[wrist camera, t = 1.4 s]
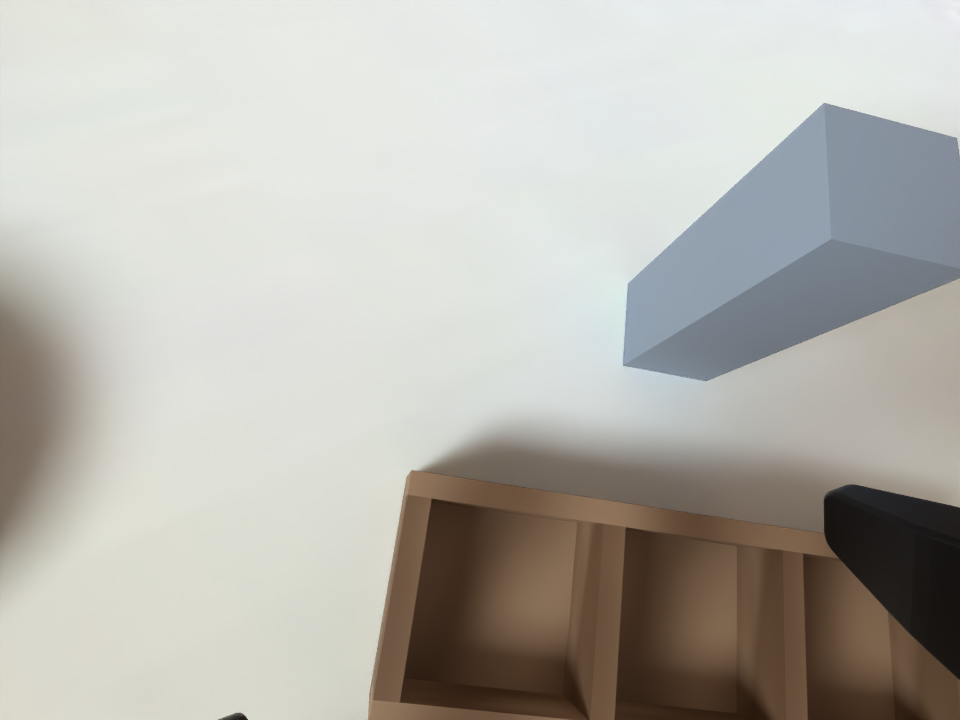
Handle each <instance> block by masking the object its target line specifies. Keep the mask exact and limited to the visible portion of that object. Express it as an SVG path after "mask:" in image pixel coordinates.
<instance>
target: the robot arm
mask: <svg viewBox="0 0 960 720" xmlns="http://www.w3.org/2000/svg"><path fill="white" fill-rule="evenodd" d="M824 535H825V539H826V541H827V544H828V545H829V547H830V549H831V550H832V551H833V552H834V554H835V555H836V556H837V557H838V558H839V559H840V560H841V561H842V562H843V563H844V564H845V565H846V567H847V568H848V569H849V570H850V571H851V572H852V573H853V574H854V575H855V576H856V577H857V578H858V580H859V581H860V582H861V583H862V584H863V585H864V586H865V587H866V588H867V589H868V590H869V591H870V592H871V594H872V595H873V596H874V597H875V598H876V599H877V600H878V601H879V602H880V603H881V604H882V605H883V607H884V608H885V609H886V610H887V611H888V612H889V613H890V614H891V615H892V616H893V617H894V618H895V620H896V621H897V622H898V623H899V624H900V625H901V626H902V627H903V628H904V629H905V630H906V631H907V632H908V633H909V634H910V635H911V636H912V637H913V638H914V639H915V640H916V641H917V642H918V643H919V644H920V645H921V646H922V647H924V648H925V649H926V650H927V651H928V652H929V653H930V654H931V655H932V656H933V657H934V658H935V659H936V660H938V661H939V662H940V663H941V664H942V665H943V666H944V667H945V668H946V669H947V670H948V671H950V672H951V673H952V674H953V675H954V676H955V677H956V678H957V679H958V680H959V681H960V507H955V506H951V505H946V504H941V503H937V502H932V501H927V500H923V499H918V498H914V497H909V496H904V495H900V494H895V493H891V492H886V491H881V490H877V489H872V488H868V487H863V486H858V485H845V486H842V487H840V488H837V489H834V490H832V491H829V492H828V493H826V495H825V497H824ZM219 720H248V719H247V718H246V716H245V715H244V714H242V713H235V714H232V715H229V716H227V717H224V718H221V719H219Z"/></svg>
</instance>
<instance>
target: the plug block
mask: <svg viewBox="0 0 960 720" xmlns="http://www.w3.org/2000/svg"><path fill="white" fill-rule="evenodd" d="M959 278H960V157H959V149H958V142H957V138H955V137H951V136H947V135H943V134H940V133H936V132H932V131H928V130H924V129H921V128H917V127H913V126H909V125H906V124H902V123H898V122H894V121H891V120H887V119H883V118H879V117H875V116H872V115H868V114H864V113H860V112H857V111H853V110H849V109H845V108H841V107H838V106H834V105H830V104H826V103H824V104H823V105H821V106H820V107H819V108H818V109H817V110H816V111H815V112H814V113H813V114H812V115H811V116H810V117H808V118H807V119H806V120H805V121H804V122H803V123H802V124H801V125H800V126H799V127H798V128H796V129H795V130H794V131H793V132H792V133H791V134H790V135H789V136H788V137H787V138H786V139H785V140H783V141H782V142H781V143H780V144H779V145H778V146H777V147H776V148H775V149H774V150H773V151H772V152H770V153H769V154H768V155H767V156H766V157H765V158H764V159H763V160H762V161H761V162H760V163H758V164H757V165H756V166H755V167H754V168H753V169H752V170H751V171H750V172H749V173H748V174H747V175H745V176H744V177H743V178H742V179H741V180H740V181H739V182H738V183H737V184H736V185H735V186H734V187H732V188H731V189H730V190H729V191H728V192H727V193H726V194H725V195H724V196H723V197H722V198H720V199H719V200H718V201H717V202H716V203H715V204H714V205H713V206H712V207H711V208H710V209H709V210H707V211H706V212H705V213H704V214H703V215H702V216H701V217H700V218H699V219H698V220H697V221H696V222H694V223H693V224H692V225H691V226H690V227H689V228H688V229H687V230H686V231H685V232H684V233H683V234H681V235H680V236H679V237H678V238H677V239H676V240H675V241H674V242H673V243H672V244H671V245H669V246H668V247H667V248H666V249H665V250H664V251H663V252H662V253H661V254H660V255H659V256H658V257H656V258H655V259H654V260H653V261H652V262H651V263H650V264H649V265H648V266H647V267H646V268H645V269H643V270H642V271H641V272H640V273H639V274H638V275H637V276H636V277H635V278H634V279H633V280H631V281H630V282H629V283H628V294H627V310H626V325H625V341H624V356H623V366H629V367H634V368H639V369H645V370H650V371H655V372H661V373H666V374H671V375H677V376H682V377H687V378H693V379H698V380H703V381H707V380H710V379H712V378H715V377H717V376H720V375H722V374H724V373H727V372H729V371H732V370H734V369H737V368H739V367H742V366H744V365H747V364H749V363H752V362H754V361H757V360H759V359H761V358H764V357H766V356H769V355H771V354H774V353H776V352H779V351H781V350H784V349H786V348H789V347H791V346H794V345H796V344H798V343H801V342H803V341H806V340H808V339H811V338H813V337H816V336H818V335H821V334H823V333H826V332H828V331H830V330H833V329H835V328H838V327H840V326H843V325H845V324H848V323H850V322H853V321H855V320H858V319H860V318H863V317H865V316H867V315H870V314H872V313H875V312H877V311H880V310H882V309H885V308H887V307H890V306H892V305H895V304H897V303H900V302H902V301H904V300H907V299H909V298H912V297H914V296H917V295H919V294H922V293H924V292H927V291H929V290H932V289H934V288H936V287H939V286H941V285H944V284H946V283H949V282H951V281H954V280H956V279H959Z"/></svg>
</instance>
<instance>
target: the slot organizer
mask: <svg viewBox="0 0 960 720" xmlns="http://www.w3.org/2000/svg"><path fill="white" fill-rule="evenodd" d="M368 720H960V681H959V680H958V679H957V678H956V677H955V676H954V675H953V674H952V673H951V672H950V671H948V670H947V669H946V668H945V667H944V666H943V665H942V664H941V663H940V662H939V661H938V660H936V659H935V658H934V657H933V656H932V655H931V654H930V653H929V652H928V651H927V650H926V649H925V648H924V647H922V646H921V645H920V644H919V643H918V642H917V641H916V640H915V639H914V638H913V637H912V636H911V635H910V634H909V633H908V632H907V631H906V630H905V629H904V628H903V627H902V626H901V625H900V624H899V623H898V622H897V621H896V620H895V618H894V617H893V616H892V615H891V614H890V613H889V612H888V611H887V610H886V609H885V608H884V607H883V605H882V604H881V603H880V602H879V601H878V600H877V599H876V598H875V597H874V596H873V595H872V594H871V592H870V591H869V590H868V589H867V588H866V587H865V586H864V585H863V584H862V583H861V582H860V581H859V580H858V578H857V577H856V576H855V575H854V574H853V573H852V572H851V571H850V570H849V569H848V568H847V567H846V565H845V564H844V563H843V562H842V561H841V560H840V559H839V558H838V557H837V556H836V555H835V554H834V552H833V551H832V550H831V549H830V547H829V545H828V544H827V541H826V539H825V535H824V534H823V533H817V532H810V531H804V530H797V529H791V528H784V527H778V526H771V525H765V524H758V523H752V522H745V521H739V520H732V519H726V518H719V517H713V516H706V515H700V514H693V513H687V512H680V511H674V510H667V509H661V508H654V507H648V506H641V505H635V504H628V503H622V502H615V501H609V500H602V499H596V498H589V497H583V496H576V495H570V494H563V493H557V492H550V491H544V490H537V489H531V488H524V487H518V486H511V485H505V484H498V483H492V482H485V481H479V480H472V479H466V478H459V477H452V476H446V475H439V474H433V473H426V472H420V471H413V470H412V471H411V472H410V473H409V475H408V476H407V478H406V484H405V490H404V496H403V501H402V507H401V513H400V519H399V525H398V531H397V536H396V542H395V548H394V554H393V560H392V566H391V571H390V577H389V583H388V589H387V595H386V601H385V607H384V612H383V618H382V624H381V630H380V636H379V642H378V647H377V653H376V659H375V665H374V671H373V677H372V682H371V688H370V694H369V715H368Z"/></svg>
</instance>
